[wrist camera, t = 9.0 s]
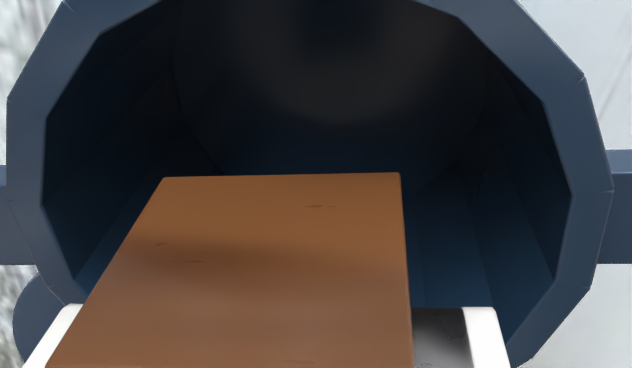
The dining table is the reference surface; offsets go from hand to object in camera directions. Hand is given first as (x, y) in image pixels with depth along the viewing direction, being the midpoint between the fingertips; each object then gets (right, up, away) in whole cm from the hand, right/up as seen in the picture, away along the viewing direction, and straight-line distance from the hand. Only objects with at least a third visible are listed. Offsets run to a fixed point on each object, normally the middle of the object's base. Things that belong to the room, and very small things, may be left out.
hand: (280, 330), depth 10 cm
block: (0, +1, +1) cm, 2 cm away
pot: (+1, +6, +10) cm, 12 cm away
